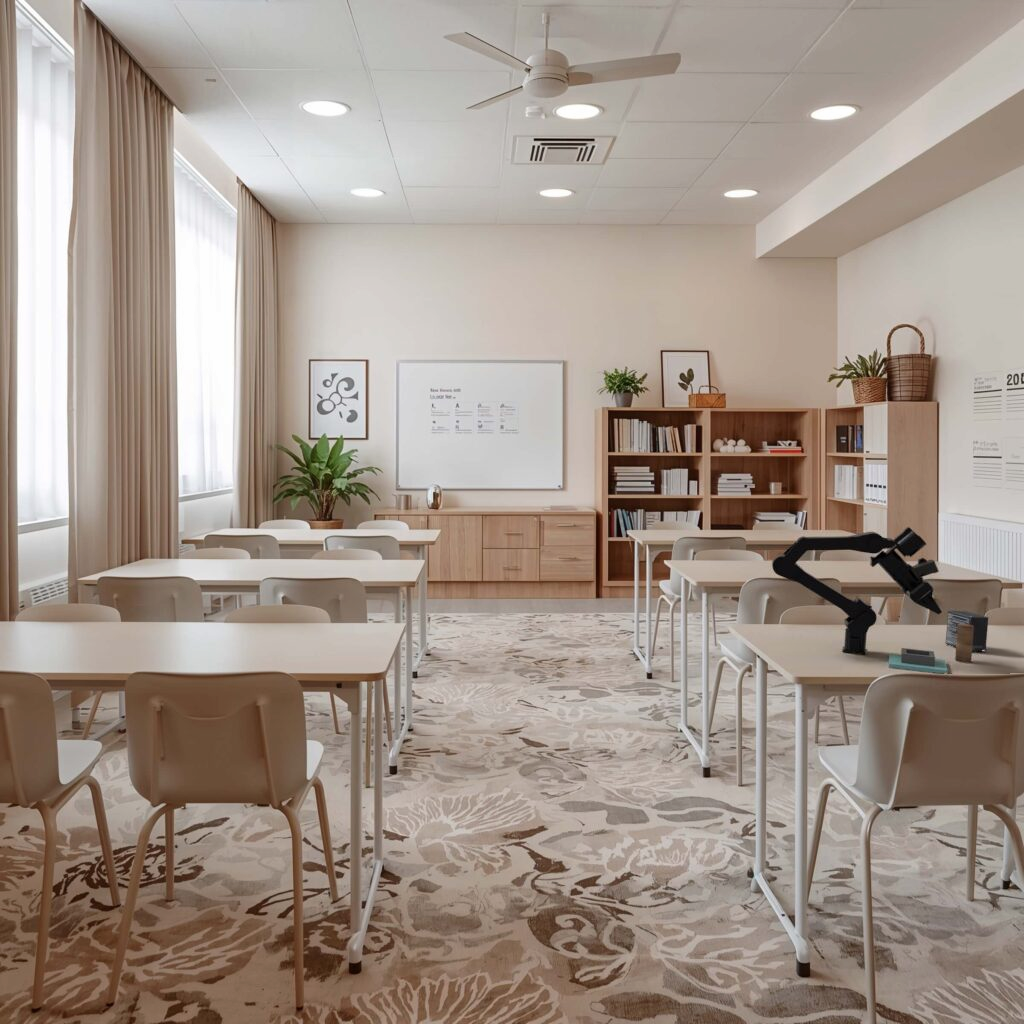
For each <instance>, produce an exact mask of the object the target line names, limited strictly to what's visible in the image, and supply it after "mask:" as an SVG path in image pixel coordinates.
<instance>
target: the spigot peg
mask: <svg viewBox="0 0 1024 1024" xmlns="http://www.w3.org/2000/svg"><path fill="white" fill-rule="evenodd" d="M973 631H974V626H972V625H967V624H958V627H957V641H956V648H955V658H954V660H956V661H955V662H958V661H959V662H958V663H963V662H971V663H972V658H973V657H972V656H973V655H972V654H973V652H972V645H973Z"/></svg>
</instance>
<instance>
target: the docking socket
mask: <svg viewBox="0 0 1024 1024" xmlns="http://www.w3.org/2000/svg"><path fill="white" fill-rule="evenodd" d="M900 650H901V652H900V654H897V653H889V654H888V668H889V667H894V668H893V669H897V668H901V669H900V670H906V669H909V670H908V671H916V672H924V673H931V672H935V673H934V674H940V673H949V671H948V667H947V663H946V660H945V659H943V658H936V656H935V652H934V651H931V650H923V649H916V648H915V649H914V648H907V647H906V648H905V647H901V649H900Z"/></svg>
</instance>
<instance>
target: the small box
mask: <svg viewBox="0 0 1024 1024" xmlns="http://www.w3.org/2000/svg"><path fill="white" fill-rule="evenodd" d="M958 624H967V625H972V626H974V631H973V645H972V651H982V650H986V651H987V639H988V627H989V617H988V616H984V615H981V614H977V613H973V612H970V611H967V610H965V611H964V610H963V611H962V610H947V621H946V633H945V642H944V644H945V643H946V644H948V645H951V646H953V647H952V648H954V647H956V641H957V627H958ZM948 645H947V646H948ZM951 646H950V647H951Z"/></svg>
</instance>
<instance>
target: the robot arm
mask: <svg viewBox="0 0 1024 1024" xmlns="http://www.w3.org/2000/svg"><path fill="white" fill-rule="evenodd" d="M925 546H927V543H926V541H925V540H924V539H923V538H922V537H921V536H920V535H919V534H917V533H916V532H915V531H914V530H913V529H912V528H911V527H910V526H907V527H906V528H904V529H903V531H902V532H900V533H899V534H898V535H897V536H896V537H894V539H892V538H890V537H883V536H882V535H881V534H879V533H878V532H875V531H867V532H861V533H857V534H853V535H847V536H846V535H845V536H844V535H842V536H841V535H840V536H811V537H810V536H809V537H808V536H799V537H798V538H797V539H796V541H794V543H793V544H792V545H790V546H789V547H788V548H787V549H786V550H785V551H784V552H783V553H781V554H777V555H775V556H774V557H773V559H772V561H771V565H772V571H773V572H774V573H775V574H776V575H778V576H780V577H782V578H784V579H787V580H789V581H793V582H794V583H795V582H796V583H798V584H800V585H802V586H803V587H804V588H806V589H808V590H810V591H811V592H813V593H815V594H816V595H818V596H819V597H821V598H823V599H824V600H826V601H827V602H829V603H830V604H832V605H834V606H835V607H838V608H839V609H840V610H841V611H843V612H844V614H846V615H847V617H846V618H845V619H844V625H845V627H846V628H845V629H844V630H845V632H844V644H843V645H844V646H842V650H841V651H842V653H849V654H857V655H865V654H866V655H867V654H868V649H867V635H868V631H869V629H870V627H872V626H874V625H875V624H876V622H877V613H876V611H874V609H873V606H872V604H871V603H870V602H867V601H864V600H863V599H862V598H860V597H859V596H858V595H856V596H855V599H853V598H850V597H848V596H846V595H844V594H843V593H841V592H839V591H838V590H836V589H835V588H833V587H831V586H829V584H827V583H825V582H823V581H822V580H820V579H819V578H817V577H815V576H814V575H812V574H811V573H809V572H807V571H806V570H805V569H804V568H803V567H801V566H800V565H799V564H798V563H797V562H798V561H799V560H801V558H802V557H803V556H804V555H805V554H806V553H807V552H808V551H843V550H844V551H845V550H846V551H847V550H848V551H849V550H850V551H855V552H860V553H867V554H877V555H875V556H873V555H871V556H870V557H869V559H870V562H869V565H870V567H872V568H874V567H876V566H877V565H879V566H880V567H881V569H882V570H884V571H885V573H886V574H888V576H889V577H890V578H891V579H892V580H893V581H894V582H895V583H896V584H897V585H898V586H899V589H900V590H901V591H902V592H903V593H904V595H906V597H909V599H910V600H912V602H913V603H915V604H916V605H919V606H921V607H923V608H925V609H927V610H929V611H931V612H933V613H935V614H937V615H940V614H941V613H943V611H942V610H941V608H940V606H939V605H938V604H937V601H936V600H935V598H934V596H933V592H934V587H933V586H932V585H931V584H930V583H929V582H928V581H927V580H924V577H926V576H929V575H931V574H936V573H939V568H938V567H937V564H936V562H935V561H936V560H933V559H928V560H927V559H926V558H924V557H920V558H919V559H917V563H916V564H915V565H913V566H912V565H911V564H909V563H907V562H906V561H905V559H903V558H902V557H901V556H900V555H902V556H903V557H904V558H906V557H909V558H912V557H913V556H914V555H915V554H917V553H918V552H919V551H920V550H921V549H923V548H924V547H925ZM884 550H886V551H884ZM896 550H897V551H898V552H899V553H900V555H899V553H898V552H897V551H896Z"/></svg>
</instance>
